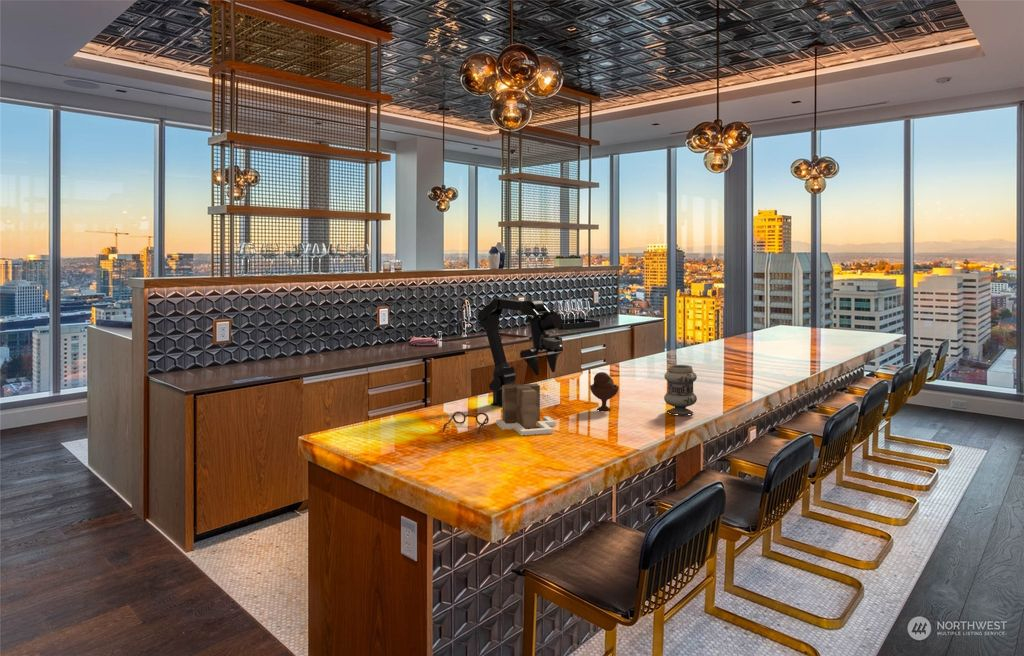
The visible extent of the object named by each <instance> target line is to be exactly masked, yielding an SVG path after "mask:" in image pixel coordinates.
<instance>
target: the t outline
mask: <svg viewBox="0 0 1024 656" xmlns="http://www.w3.org/2000/svg"><path fill="white" fill-rule="evenodd" d="M495 423H496V425H497V427H499V428H500V429H501V431H505V430H504V429H508V430H514V431H516V433H518V434H519V435H520V436H523V435H525V436H534V435H535V434H536V435H546V434H548V435H549V434H553V431H554V430H553V428H552V427H555V426H557V421H556V420H554V419H553V418H552V417H550V416H549V415H548V416H545V415H544V416H542V420H540V421H536V428H530V429H525V428H523V427H522V426H521V425H520V424H519V423H505V422H504V421H503V420H502V419H496V420H495ZM538 426H539V427H540V428H539V427H538ZM537 427H538V428H537ZM536 435H535V436H536ZM523 437H524V436H523Z"/></svg>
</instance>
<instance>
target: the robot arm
mask: <svg viewBox="0 0 1024 656" xmlns="http://www.w3.org/2000/svg"><path fill="white" fill-rule="evenodd" d="M504 310H509V311H510V310H511V311H518V312H520V313H521V314H523V315H526V316H527V317H526V319H525V320H524V323H525V324H528V325H529V328H530V329H529V331H530V336H529V337H528V338H529V340H530V341H531V342H532V347H531V348H528V349H522V350H520V352H519V358H520V359H522V360H523V361H525V363H527V365H528V366H529V367H530V369H531V370H532V372H533V373H534V375H535V376H539V374H540V372H539V371H540V370H539V365H538V361H539V359H540V355H539V354H545V358H546V360H547V363H548V366H549V368H550V371H551V373H555V372H556V365H557V359H558V357H559V356H560V354H562V352H564V349H563V337H562V336H559V335H557V336H555V337H551V335H550V334H549V333H547V332H549V331H555V330H559V329H561V328H562V327H563V323H564V322H563V318H562V316H561V315H560V314H559V313H558V311H557V310H551V311H550V310H549V309H548V308H547V307H546V305H544V302H543V300H542V299H534V300H533V299H531V300H518V299H511V298H504V297H495V298H493V299H492V300H491V301H490V302H489V303H488V304H487V305H485V306H484V307H483V308H482V309H480V310H479V312H478V313H477V319H478V320H477V321H478V323H479V325H480V327H481V328H482V330H483V331H484V332H485V334H486V336H487V340H488V343H489V347H490V352H491V355H492V359H493V364H494V370H493V379H492V380H491V382H490V383H488V388H489V390H490V391H492V402H491V403H490V405H491V406H497V405H499V407H502V386H503V385H515V382H516V378H517V377H516V376H517V374H516V372H515V367H514V365H511V366H510V364H509V363H508V362H507V358H506V353H505V350H504V346H503V343H502V338H501V335H500V331H499V327H500V322H501V321H500V316H502V314H503V313H504Z"/></svg>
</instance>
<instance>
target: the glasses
mask: <svg viewBox="0 0 1024 656" xmlns="http://www.w3.org/2000/svg"><path fill="white" fill-rule="evenodd" d="M457 414H461V415H462V416H463V420H462V421H457V420H456V418H455V417H456V416H455V415H457ZM480 415H483V416H485V419H484V420H483V421H482V423H481V422H480V421H479V420H478V416H480ZM467 417H470V418H475V422H476V423H477V424H478V425H479V426H478V430H477V435H478V434H479V435H480V432H481V428H482V427H483V426H485V425H484V424H486V425H487V424H488V422H489V419H490V418H489V416H488V414H486V413H485V412H478V413H477V414H465V412H463V411H458V410H457V411H455V412H454V413H453V414H452V416H451V417H450V419H449V420H448V421H447V422H445V423H444V424H443V427H442V432H444V433H445V431H446V426H447V425H449V424H450V423H451V422H452V421H453V422H454V423H455V424H457V423H463V424H465V422H466V418H467ZM480 424H481V425H480Z"/></svg>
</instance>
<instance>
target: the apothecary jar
mask: <svg viewBox="0 0 1024 656" xmlns="http://www.w3.org/2000/svg"><path fill="white" fill-rule="evenodd" d="M697 378H698V376H697V374H696V373H695V371H693V366H692V365H688V364H673V365H672V364H671V365H669V367H668V370H667V371H666V372H665V374H664V379H665V380H666V381H667V392H666V393H665V394H664V396H663V401H664V402H665V403H666V404H667V405H669V406H671V407H672V408H670V409H668V410H666V413H667V412H669V413H671V414H678V415H688V414H692V413H694V412H693V410H691V409H690V408H689V409H688V408H687V407H691V406H693V405H694V404H696V403H697V400H698V398H697V395H696V394H695V393H694V382H695V381H696V380H697Z"/></svg>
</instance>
